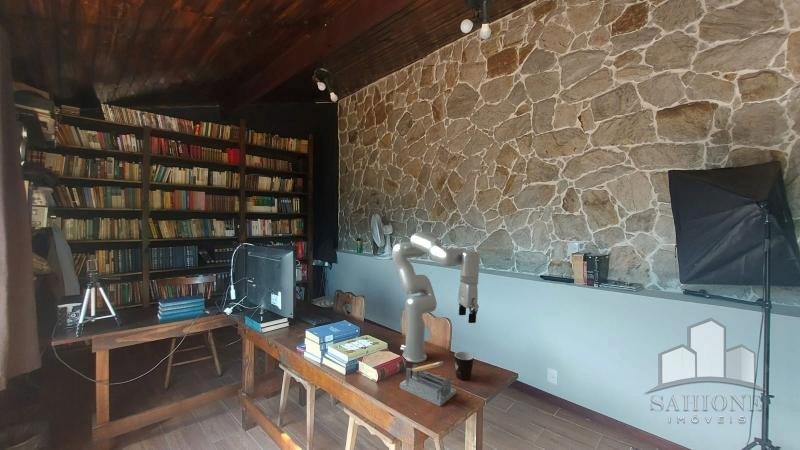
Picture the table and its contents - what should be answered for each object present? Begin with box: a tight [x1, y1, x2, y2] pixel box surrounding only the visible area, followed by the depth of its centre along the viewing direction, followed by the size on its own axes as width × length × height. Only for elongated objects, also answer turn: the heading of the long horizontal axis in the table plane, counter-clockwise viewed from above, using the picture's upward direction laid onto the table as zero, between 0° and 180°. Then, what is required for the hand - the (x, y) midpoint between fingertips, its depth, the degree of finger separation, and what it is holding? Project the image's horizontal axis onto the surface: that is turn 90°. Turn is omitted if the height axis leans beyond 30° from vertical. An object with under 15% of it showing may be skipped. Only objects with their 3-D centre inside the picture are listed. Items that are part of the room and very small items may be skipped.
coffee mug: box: [454, 351, 475, 382], centre depth 152 cm, size 12×9×10 cm
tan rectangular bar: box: [411, 360, 444, 374], centre depth 139 cm, size 17×3×2 cm, turn 51°
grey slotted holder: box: [399, 363, 457, 407], centre depth 138 cm, size 20×12×8 cm, turn 51°
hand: (467, 318), depth 143 cm, fingers open, 9 cm apart
